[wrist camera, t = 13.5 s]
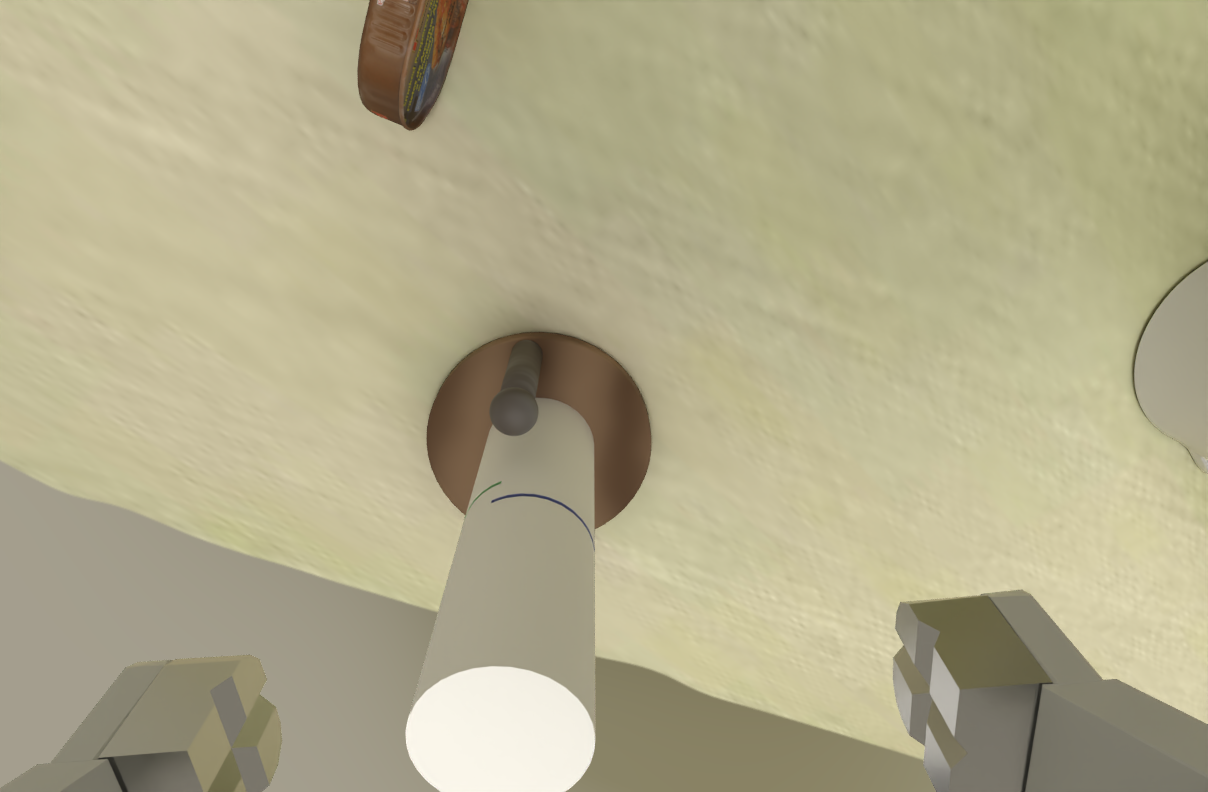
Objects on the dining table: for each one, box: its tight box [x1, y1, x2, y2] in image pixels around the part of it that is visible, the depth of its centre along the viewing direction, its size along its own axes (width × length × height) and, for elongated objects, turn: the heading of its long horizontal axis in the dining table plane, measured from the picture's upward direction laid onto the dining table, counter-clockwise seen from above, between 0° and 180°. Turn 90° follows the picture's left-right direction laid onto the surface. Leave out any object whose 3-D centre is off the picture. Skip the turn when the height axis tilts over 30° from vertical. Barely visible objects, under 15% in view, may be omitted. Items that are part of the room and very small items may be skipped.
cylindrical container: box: [406, 398, 595, 792], centre depth 41 cm, size 7×7×25 cm
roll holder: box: [427, 332, 651, 529], centre depth 49 cm, size 15×16×12 cm
